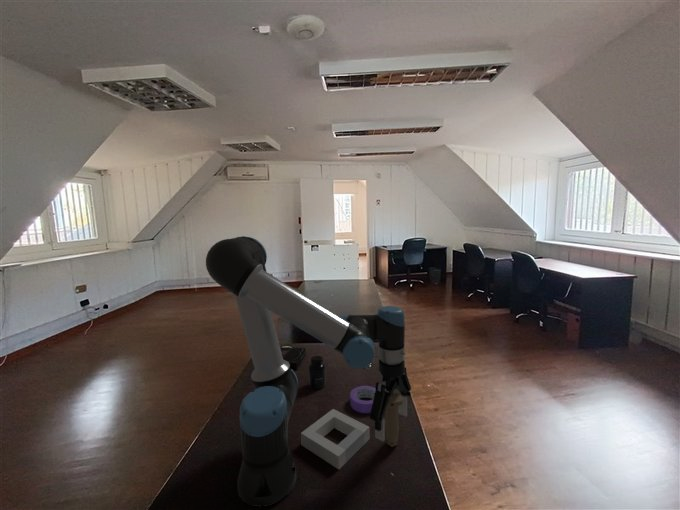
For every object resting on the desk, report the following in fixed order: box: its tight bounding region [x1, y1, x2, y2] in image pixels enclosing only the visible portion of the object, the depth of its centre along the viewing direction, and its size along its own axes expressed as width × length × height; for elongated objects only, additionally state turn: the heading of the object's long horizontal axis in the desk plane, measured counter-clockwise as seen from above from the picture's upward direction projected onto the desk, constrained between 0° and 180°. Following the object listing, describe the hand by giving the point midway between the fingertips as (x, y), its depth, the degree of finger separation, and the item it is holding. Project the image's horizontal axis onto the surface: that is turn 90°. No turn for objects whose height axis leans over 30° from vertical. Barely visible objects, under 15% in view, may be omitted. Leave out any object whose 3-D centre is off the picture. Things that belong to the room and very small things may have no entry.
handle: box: [385, 392, 403, 448], centre depth 92 cm, size 5×6×15 cm
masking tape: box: [349, 385, 376, 414], centre depth 114 cm, size 12×12×4 cm
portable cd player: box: [280, 346, 307, 371], centre depth 149 cm, size 16×17×4 cm
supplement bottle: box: [308, 355, 326, 390], centre depth 126 cm, size 7×7×12 cm
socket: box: [300, 408, 371, 470], centre depth 94 cm, size 15×15×4 cm
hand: (392, 426), depth 93 cm, fingers open, 13 cm apart
